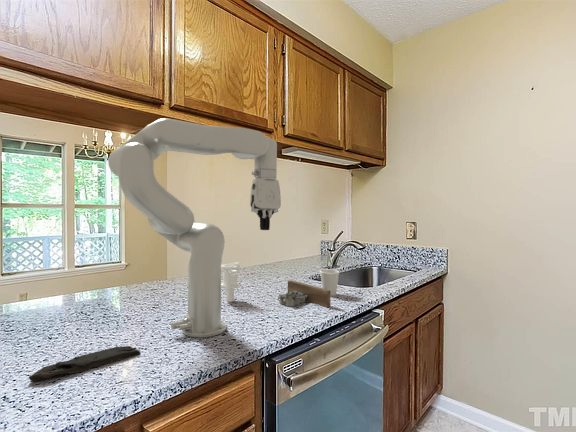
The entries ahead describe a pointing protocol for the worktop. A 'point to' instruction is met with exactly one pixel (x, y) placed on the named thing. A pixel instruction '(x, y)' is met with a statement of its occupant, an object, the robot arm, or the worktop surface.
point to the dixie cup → (330, 280)
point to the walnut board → (311, 293)
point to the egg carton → (292, 298)
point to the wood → (85, 362)
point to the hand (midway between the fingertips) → (264, 229)
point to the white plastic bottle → (230, 280)
